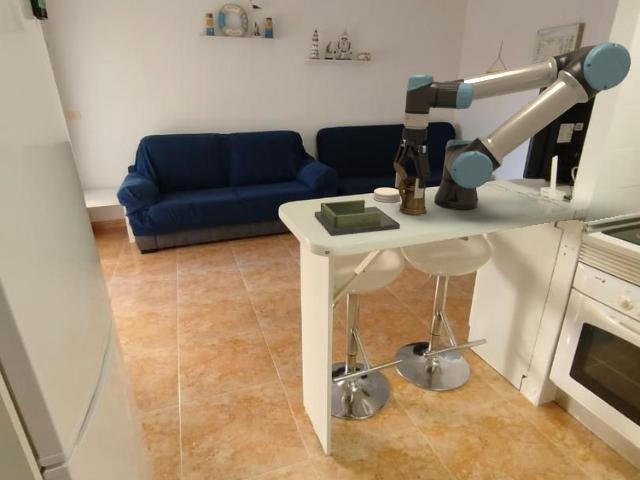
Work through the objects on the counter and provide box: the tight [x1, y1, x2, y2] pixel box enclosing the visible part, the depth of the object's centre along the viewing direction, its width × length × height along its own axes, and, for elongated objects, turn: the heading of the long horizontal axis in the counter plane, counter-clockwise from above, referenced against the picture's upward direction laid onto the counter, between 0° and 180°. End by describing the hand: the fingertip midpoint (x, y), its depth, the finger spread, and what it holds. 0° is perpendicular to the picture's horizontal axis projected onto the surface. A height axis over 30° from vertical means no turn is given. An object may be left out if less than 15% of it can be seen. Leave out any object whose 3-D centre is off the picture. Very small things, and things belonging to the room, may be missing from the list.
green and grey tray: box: [314, 199, 401, 237], centre depth 125 cm, size 22×18×5 cm
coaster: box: [373, 187, 401, 204], centre depth 149 cm, size 10×10×4 cm
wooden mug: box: [393, 161, 427, 216], centre depth 132 cm, size 9×14×18 cm, turn 113°
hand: (408, 192), depth 133 cm, fingers open, 13 cm apart
